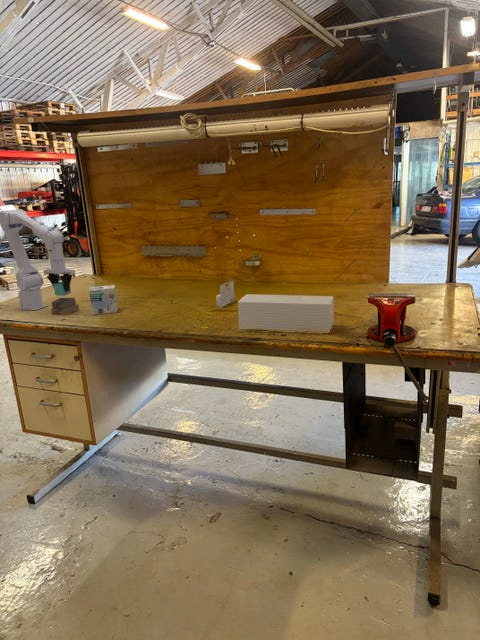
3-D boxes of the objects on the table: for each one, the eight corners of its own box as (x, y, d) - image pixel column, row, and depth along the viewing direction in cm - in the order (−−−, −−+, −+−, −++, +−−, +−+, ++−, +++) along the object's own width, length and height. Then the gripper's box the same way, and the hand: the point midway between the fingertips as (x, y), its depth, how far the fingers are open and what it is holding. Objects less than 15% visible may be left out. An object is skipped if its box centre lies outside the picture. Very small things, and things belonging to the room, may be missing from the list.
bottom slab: (52, 315, 195) (51, 308, 194) (64, 310, 202) (62, 303, 201) (67, 316, 192) (66, 309, 192) (79, 310, 200) (78, 304, 199)
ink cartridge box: (216, 307, 192) (215, 284, 190) (230, 300, 201) (229, 279, 199) (221, 307, 191) (220, 285, 188) (235, 301, 200) (233, 279, 197)
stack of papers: (239, 330, 161) (237, 301, 158) (247, 321, 171) (246, 294, 168) (330, 335, 152) (330, 304, 149) (333, 325, 161) (333, 296, 158)
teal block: (55, 295, 194) (53, 284, 192) (62, 292, 198) (60, 281, 197) (64, 295, 192) (62, 284, 191) (71, 293, 197) (69, 281, 195)
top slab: (52, 308, 194) (51, 302, 193) (61, 304, 200) (60, 297, 199) (67, 308, 192) (66, 301, 192) (75, 304, 199) (74, 297, 198)
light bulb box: (92, 315, 190) (88, 290, 187) (92, 311, 197) (89, 287, 193) (118, 312, 193) (114, 287, 190) (117, 308, 199) (114, 284, 196)
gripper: (77, 258, 192) (82, 289, 196) (49, 258, 196) (54, 288, 200) (66, 261, 186) (72, 293, 190) (37, 260, 190) (43, 292, 194)
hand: (62, 291), depth 195 cm, fingers closed on teal block, 5 cm apart
